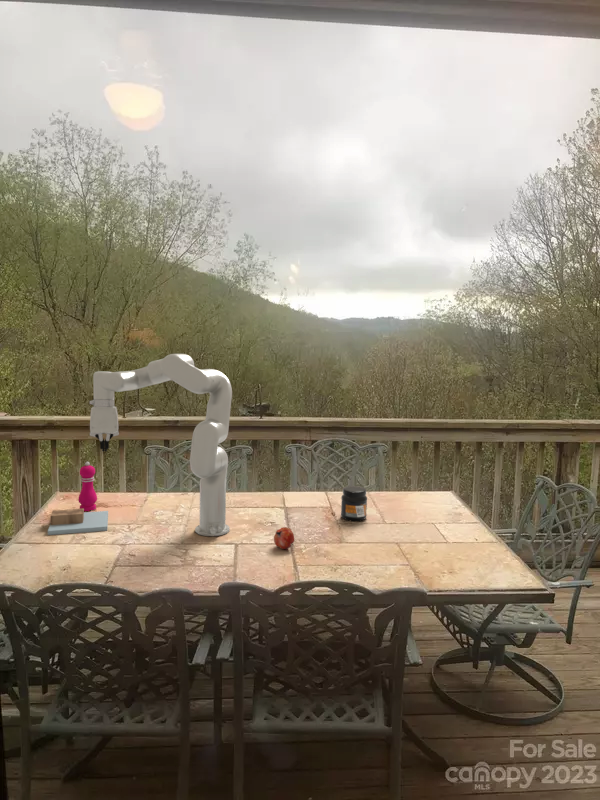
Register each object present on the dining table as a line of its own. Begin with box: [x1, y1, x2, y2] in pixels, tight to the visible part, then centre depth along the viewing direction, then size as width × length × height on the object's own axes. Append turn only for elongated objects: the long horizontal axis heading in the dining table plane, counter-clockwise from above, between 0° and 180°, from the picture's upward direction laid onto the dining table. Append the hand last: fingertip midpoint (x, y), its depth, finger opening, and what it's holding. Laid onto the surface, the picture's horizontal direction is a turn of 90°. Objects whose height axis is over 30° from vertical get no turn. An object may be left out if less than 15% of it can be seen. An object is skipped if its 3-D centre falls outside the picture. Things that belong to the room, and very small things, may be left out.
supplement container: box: [340, 485, 368, 522], centre depth 223 cm, size 10×10×12 cm
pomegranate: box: [273, 526, 295, 550], centre depth 188 cm, size 7×7×10 cm
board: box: [47, 510, 109, 536], centre depth 207 cm, size 20×20×2 cm
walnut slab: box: [50, 508, 84, 525], centre depth 206 cm, size 7×4×11 cm
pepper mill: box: [77, 461, 98, 512], centre depth 225 cm, size 7×7×20 cm
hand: (104, 450), depth 212 cm, fingers closed
